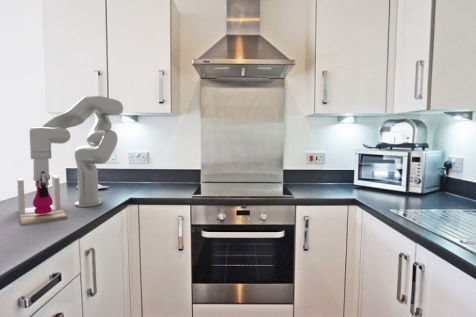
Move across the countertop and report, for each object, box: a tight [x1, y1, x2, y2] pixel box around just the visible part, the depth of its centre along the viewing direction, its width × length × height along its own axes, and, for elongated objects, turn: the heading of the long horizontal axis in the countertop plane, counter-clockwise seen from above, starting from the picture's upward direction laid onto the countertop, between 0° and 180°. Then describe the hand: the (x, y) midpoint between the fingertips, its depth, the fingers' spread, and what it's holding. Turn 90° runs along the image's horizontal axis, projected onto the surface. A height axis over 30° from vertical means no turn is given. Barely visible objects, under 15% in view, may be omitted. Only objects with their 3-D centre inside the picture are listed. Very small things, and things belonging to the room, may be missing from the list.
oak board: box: [19, 208, 68, 226], centre depth 125 cm, size 16×16×1 cm
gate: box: [16, 174, 61, 216], centre depth 136 cm, size 10×16×16 cm, turn 130°
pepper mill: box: [32, 174, 53, 214], centre depth 124 cm, size 7×7×20 cm
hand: (42, 195), depth 124 cm, fingers closed on pepper mill, 5 cm apart
